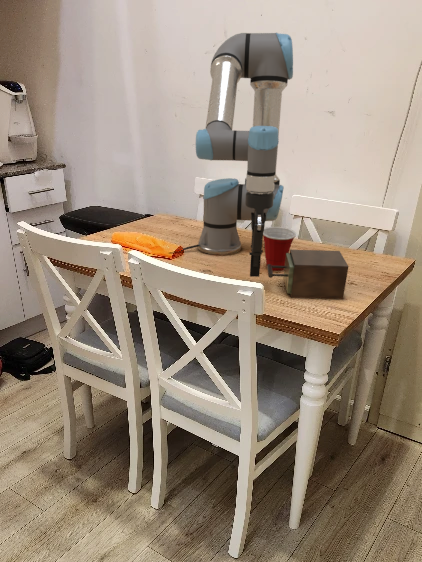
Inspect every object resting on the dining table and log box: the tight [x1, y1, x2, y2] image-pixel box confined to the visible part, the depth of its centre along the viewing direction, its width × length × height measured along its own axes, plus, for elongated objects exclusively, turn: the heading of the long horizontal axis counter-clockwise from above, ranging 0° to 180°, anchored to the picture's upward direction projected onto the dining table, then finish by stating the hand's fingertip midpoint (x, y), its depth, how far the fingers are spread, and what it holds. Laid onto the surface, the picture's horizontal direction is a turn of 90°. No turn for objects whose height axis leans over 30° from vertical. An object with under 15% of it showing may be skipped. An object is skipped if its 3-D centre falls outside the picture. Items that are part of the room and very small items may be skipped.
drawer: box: [266, 252, 294, 295], centre depth 140 cm, size 19×12×8 cm, turn 87°
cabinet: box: [289, 249, 349, 300], centre depth 140 cm, size 15×14×10 cm
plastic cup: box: [263, 226, 297, 272], centre depth 154 cm, size 11×11×12 cm
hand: (254, 275), depth 141 cm, fingers closed
